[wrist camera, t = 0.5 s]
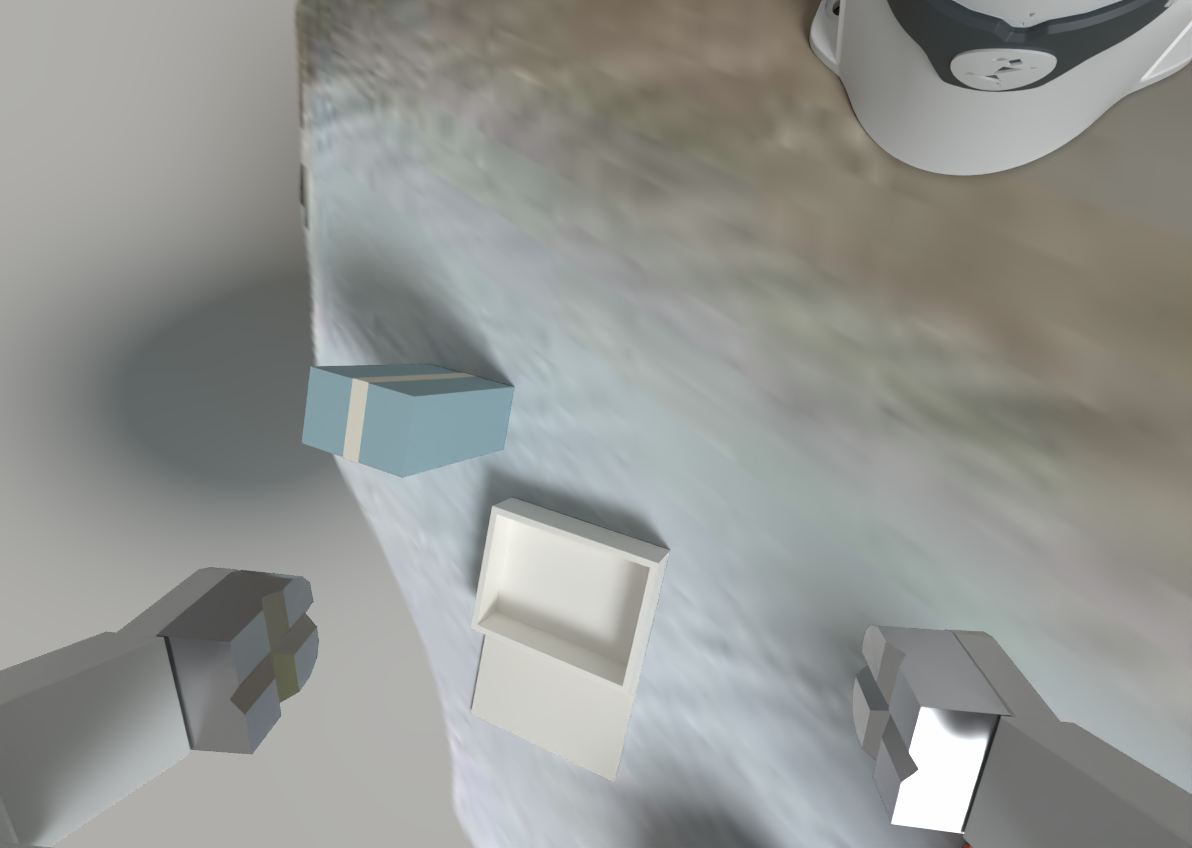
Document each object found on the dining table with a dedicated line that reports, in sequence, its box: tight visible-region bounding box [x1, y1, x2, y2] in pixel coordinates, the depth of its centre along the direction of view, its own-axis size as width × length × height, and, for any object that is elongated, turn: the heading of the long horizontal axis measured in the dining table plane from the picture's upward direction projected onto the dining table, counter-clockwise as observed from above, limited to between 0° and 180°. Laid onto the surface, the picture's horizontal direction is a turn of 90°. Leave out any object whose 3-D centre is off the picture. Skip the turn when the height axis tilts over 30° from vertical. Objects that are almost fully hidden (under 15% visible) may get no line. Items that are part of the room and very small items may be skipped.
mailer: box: [471, 497, 670, 782], centre depth 46 cm, size 19×13×3 cm
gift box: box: [302, 364, 514, 478], centre depth 43 cm, size 5×8×12 cm, turn 78°
